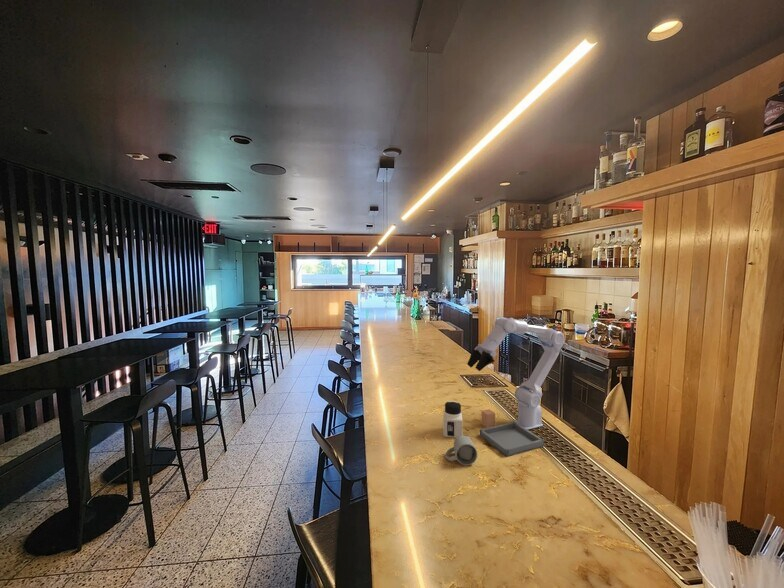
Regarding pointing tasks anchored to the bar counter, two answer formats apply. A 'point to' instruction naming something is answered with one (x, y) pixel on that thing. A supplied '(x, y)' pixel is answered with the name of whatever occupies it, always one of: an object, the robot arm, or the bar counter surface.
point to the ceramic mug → (463, 451)
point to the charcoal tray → (511, 438)
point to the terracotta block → (488, 418)
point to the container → (452, 420)
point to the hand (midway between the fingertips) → (473, 367)
